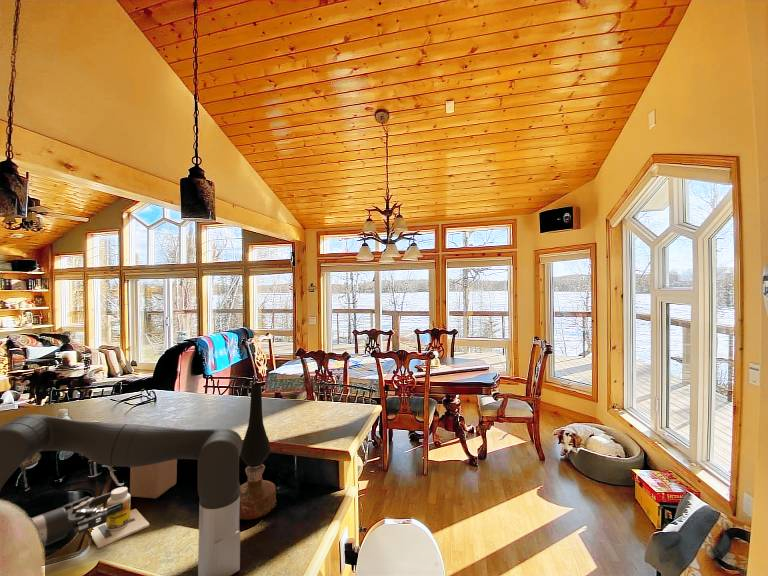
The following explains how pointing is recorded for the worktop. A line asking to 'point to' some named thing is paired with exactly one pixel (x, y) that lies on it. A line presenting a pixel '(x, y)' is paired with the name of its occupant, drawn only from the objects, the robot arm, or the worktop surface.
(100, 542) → the letter board
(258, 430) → the oil lamp
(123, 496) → the supplement bottle
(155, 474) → the wooden block
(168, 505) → the worktop surface
